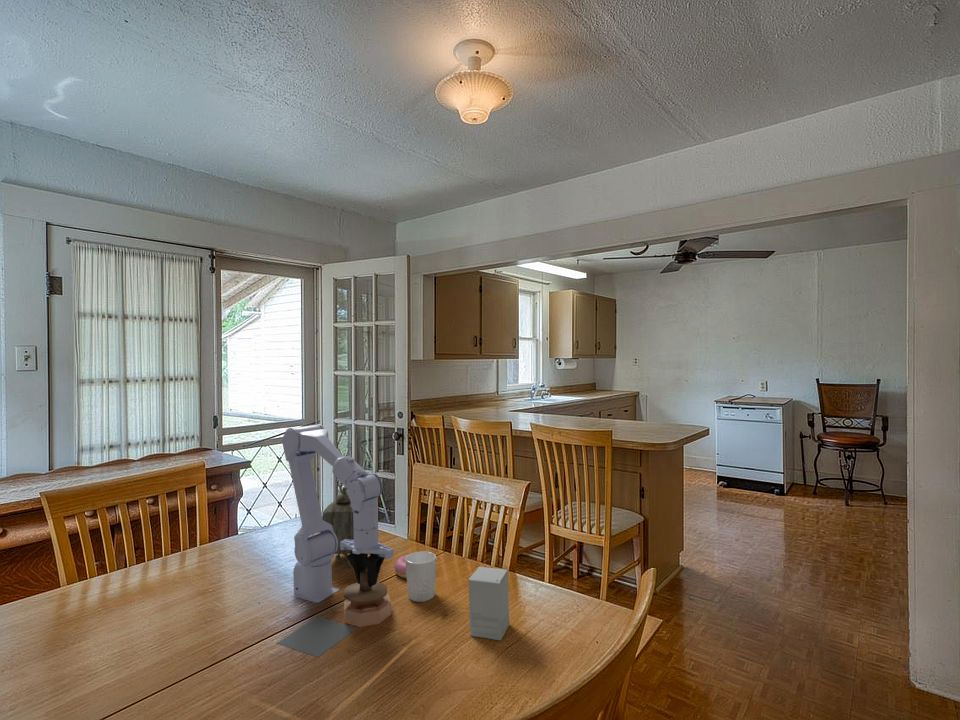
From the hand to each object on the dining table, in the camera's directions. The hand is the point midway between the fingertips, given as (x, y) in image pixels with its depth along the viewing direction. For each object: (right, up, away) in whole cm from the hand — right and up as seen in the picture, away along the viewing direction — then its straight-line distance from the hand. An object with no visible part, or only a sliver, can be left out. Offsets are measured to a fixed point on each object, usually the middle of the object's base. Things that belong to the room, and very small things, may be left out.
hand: (367, 583), depth 119 cm
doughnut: (+8, -8, +24) cm, 27 cm away
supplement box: (+29, -8, -7) cm, 31 cm away
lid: (0, -2, -1) cm, 2 cm away
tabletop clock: (-14, -8, +33) cm, 37 cm away
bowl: (0, -8, 0) cm, 8 cm away
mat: (-9, -8, -9) cm, 15 cm away
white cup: (+12, -8, +10) cm, 17 cm away
